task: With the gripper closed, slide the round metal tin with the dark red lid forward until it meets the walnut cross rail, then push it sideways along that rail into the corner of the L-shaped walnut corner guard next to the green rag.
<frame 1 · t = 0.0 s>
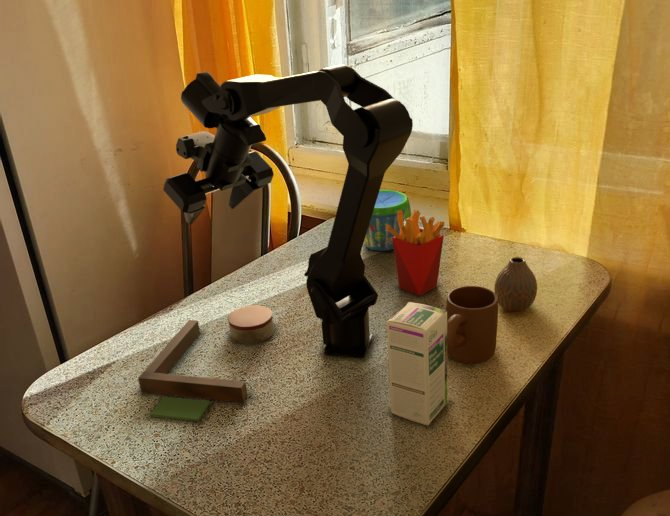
hand: (210, 214, 116), 15 cm above the table, tool tilted 35°, fingers open, 9 cm apart
tin: (252, 332, 109), on the table
french fries: (417, 291, 120), on the table
mug: (464, 359, 100), on the table
snack cup: (382, 245, 139), on the table
green rag: (181, 409, 92), on the table
syrup box: (418, 409, 90), on the table
vase: (514, 308, 113), on the table
corner guard: (156, 386, 97), on the table
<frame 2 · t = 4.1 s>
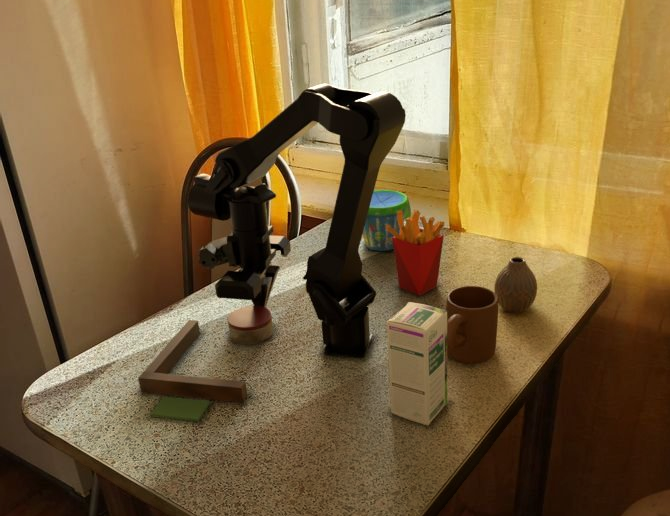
hand: (261, 311, 113), 1 cm above the table, tool pointing down, fingers closed
tin: (251, 333, 109), on the table, touching gripper
everything else where it was.
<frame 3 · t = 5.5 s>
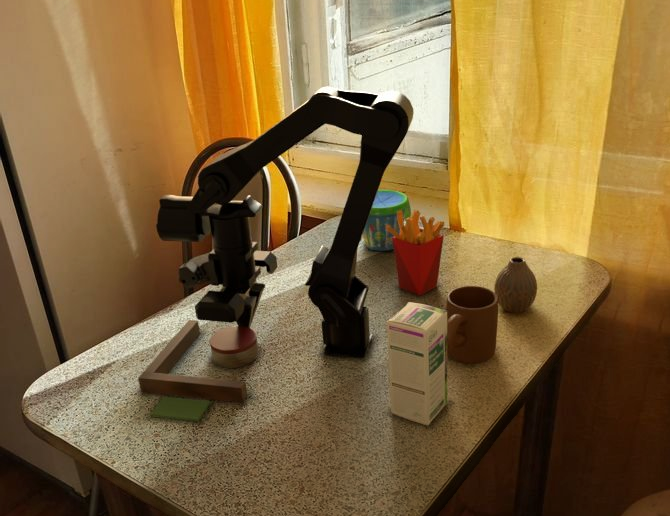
hand: (245, 331, 107), 2 cm above the table, tool pointing down, fingers closed
tin: (235, 355, 103), on the table, touching gripper
everything else where it was.
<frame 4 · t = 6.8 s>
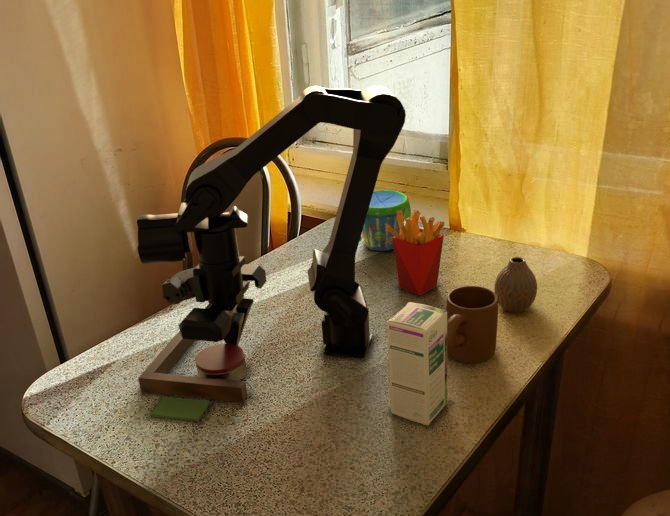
hand: (233, 348, 102), 2 cm above the table, tool pointing down, fingers closed
tin: (222, 374, 99), on the table, touching gripper
everything else where it was.
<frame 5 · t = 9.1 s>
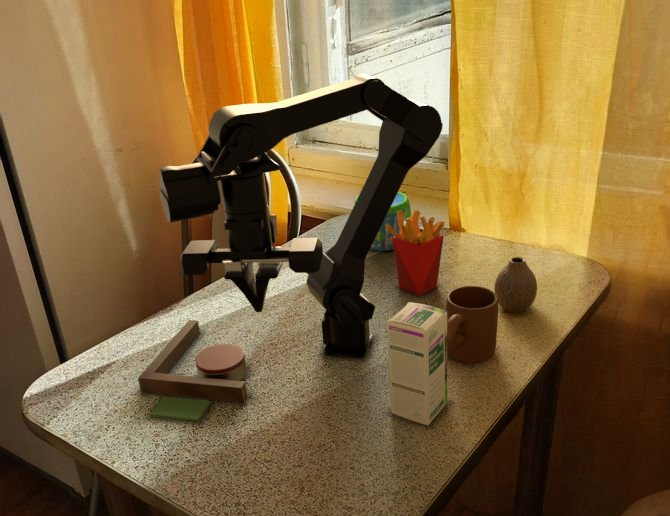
hand: (259, 310, 95), 10 cm above the table, tool pointing down, fingers closed
tin: (222, 374, 99), on the table
everything else where it was.
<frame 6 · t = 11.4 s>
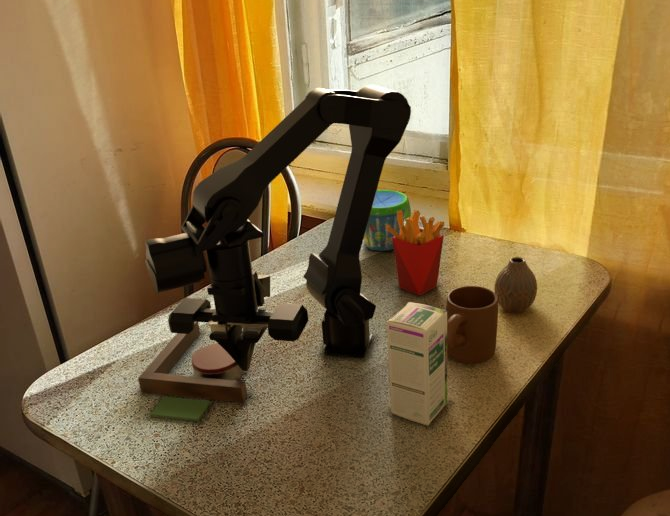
hand: (246, 369, 97), 2 cm above the table, tool pointing down, fingers closed
tin: (219, 374, 99), on the table, touching gripper
everything else where it was.
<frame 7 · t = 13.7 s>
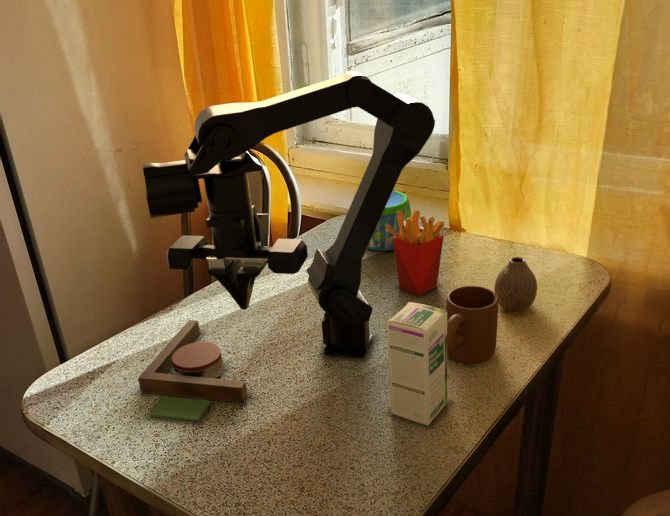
hand: (245, 308, 96), 10 cm above the table, tool pointing down, fingers closed
tin: (199, 372, 100), on the table
everything else where it was.
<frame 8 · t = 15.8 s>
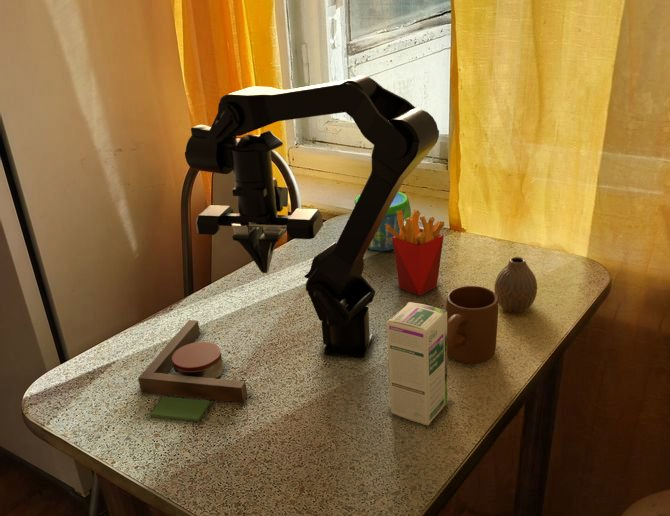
hand: (265, 271, 106), 10 cm above the table, tool pointing down, fingers closed
nothing on the table moved.
at the end: tin inside the target area (2.6 cm from its centre), on the table; tin 1.1 cm from the target spot, on the table; tin tilted 0° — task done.
